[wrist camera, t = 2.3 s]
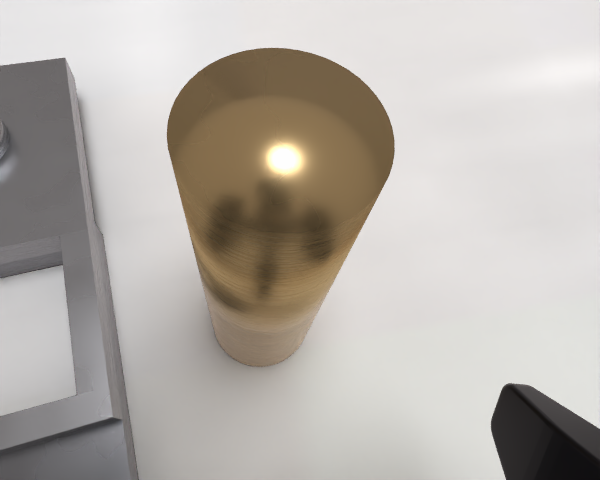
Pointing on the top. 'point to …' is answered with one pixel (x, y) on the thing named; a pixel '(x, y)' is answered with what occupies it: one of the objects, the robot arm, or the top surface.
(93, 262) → the grey frame with knob
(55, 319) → the top surface
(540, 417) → the robot arm
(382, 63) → the top surface
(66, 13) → the top surface
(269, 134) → the bronze cylinder
